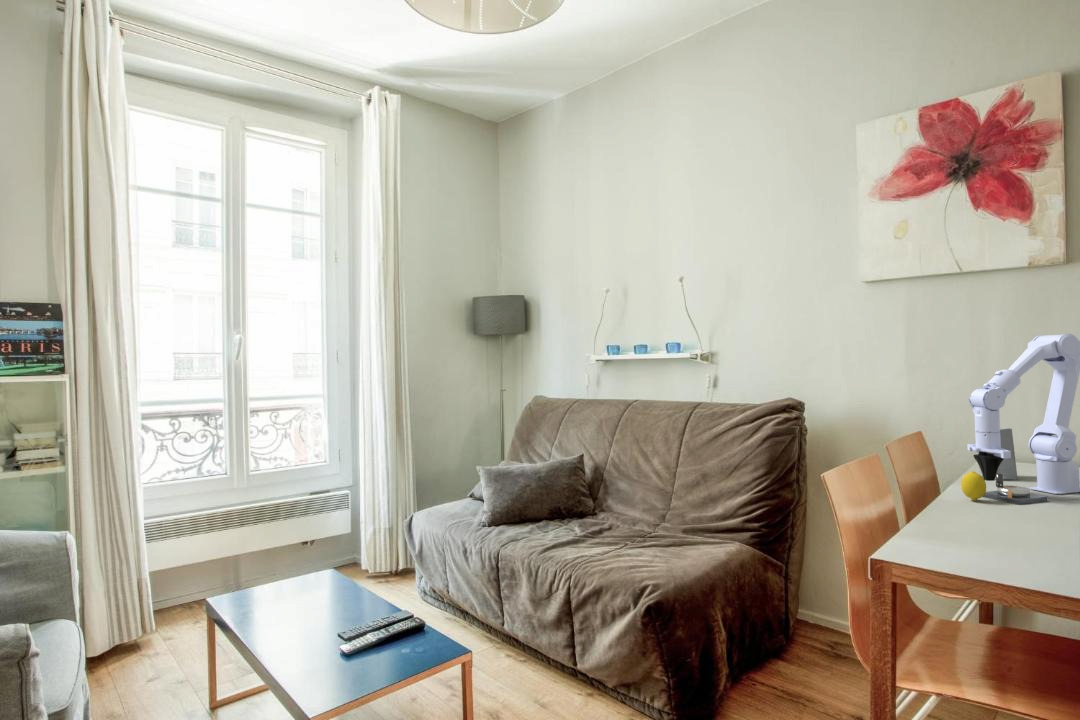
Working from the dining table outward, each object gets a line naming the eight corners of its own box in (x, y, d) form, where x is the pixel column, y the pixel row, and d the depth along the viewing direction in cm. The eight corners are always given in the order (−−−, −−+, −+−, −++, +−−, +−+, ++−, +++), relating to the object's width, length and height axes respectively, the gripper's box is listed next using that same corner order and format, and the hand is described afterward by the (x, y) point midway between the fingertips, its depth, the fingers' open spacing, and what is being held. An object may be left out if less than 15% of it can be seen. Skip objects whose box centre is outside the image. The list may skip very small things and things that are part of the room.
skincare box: (1018, 480, 188) (1016, 428, 188) (994, 480, 189) (992, 429, 189) (998, 474, 197) (996, 425, 197) (975, 475, 197) (974, 426, 197)
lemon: (978, 498, 167) (977, 469, 167) (991, 503, 162) (990, 472, 162) (957, 498, 168) (956, 469, 168) (969, 503, 162) (968, 473, 162)
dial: (1011, 490, 170) (1010, 472, 170) (1036, 495, 163) (1036, 476, 163) (990, 492, 168) (990, 474, 168) (1016, 497, 161) (1015, 478, 161)
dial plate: (1010, 493, 172) (1009, 482, 172) (1047, 501, 162) (1046, 489, 162) (981, 496, 169) (981, 485, 169) (1017, 504, 159) (1017, 493, 160)
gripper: (956, 429, 179) (957, 475, 179) (991, 435, 165) (993, 485, 165) (980, 428, 179) (982, 475, 179) (1018, 434, 164) (1020, 485, 164)
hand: (989, 480), depth 172 cm, fingers closed
